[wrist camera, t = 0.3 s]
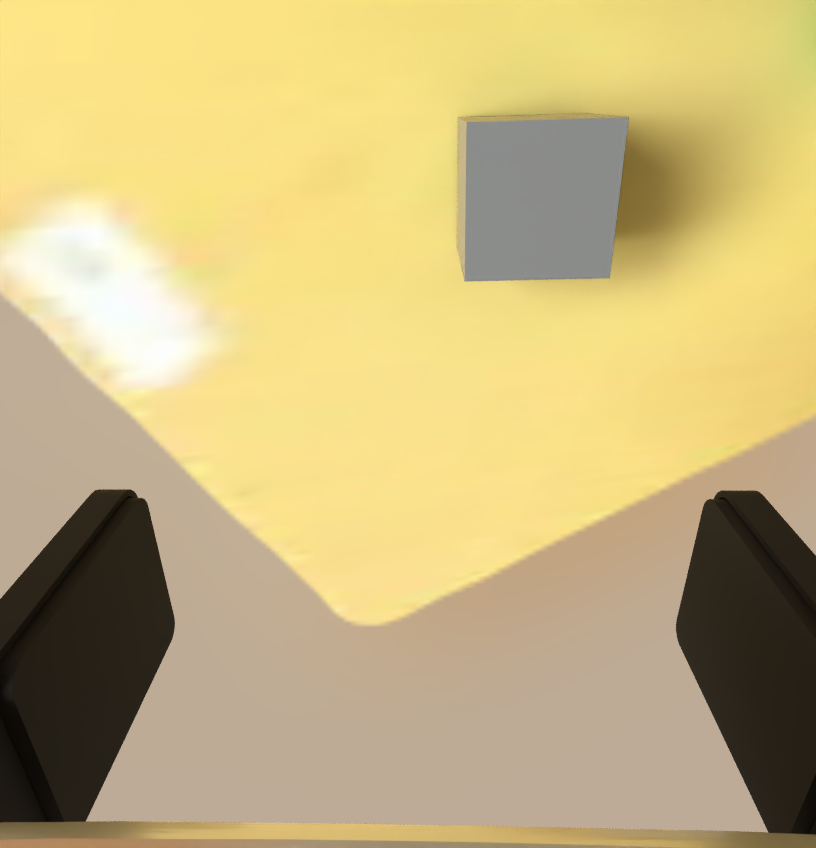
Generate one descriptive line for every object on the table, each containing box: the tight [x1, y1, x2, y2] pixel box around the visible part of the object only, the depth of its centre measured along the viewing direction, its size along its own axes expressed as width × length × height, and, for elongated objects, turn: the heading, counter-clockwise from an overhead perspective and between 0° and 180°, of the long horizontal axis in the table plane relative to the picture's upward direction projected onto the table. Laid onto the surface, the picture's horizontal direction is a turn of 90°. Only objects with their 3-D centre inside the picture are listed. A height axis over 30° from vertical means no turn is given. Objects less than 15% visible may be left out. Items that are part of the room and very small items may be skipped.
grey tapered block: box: [457, 113, 629, 281], centre depth 36 cm, size 8×8×9 cm
